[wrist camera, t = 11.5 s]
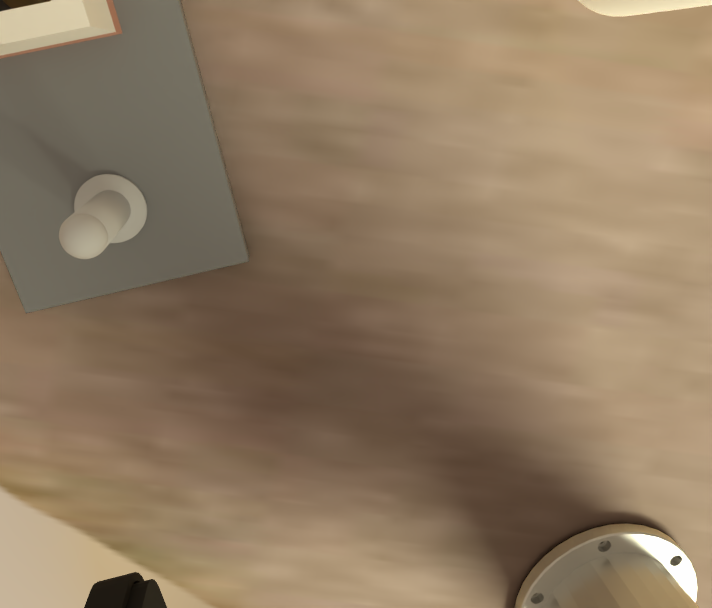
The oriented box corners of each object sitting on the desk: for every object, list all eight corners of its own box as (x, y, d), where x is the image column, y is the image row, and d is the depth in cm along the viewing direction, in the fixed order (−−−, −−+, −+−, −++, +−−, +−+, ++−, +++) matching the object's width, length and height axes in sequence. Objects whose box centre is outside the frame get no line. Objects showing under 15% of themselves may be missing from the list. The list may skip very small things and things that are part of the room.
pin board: (249, 255, 34) (247, 304, 27) (33, 304, 33) (-26, 368, 26) (139, -154, 28) (99, -227, 21) (-131, -102, 27) (-266, -160, 20)
